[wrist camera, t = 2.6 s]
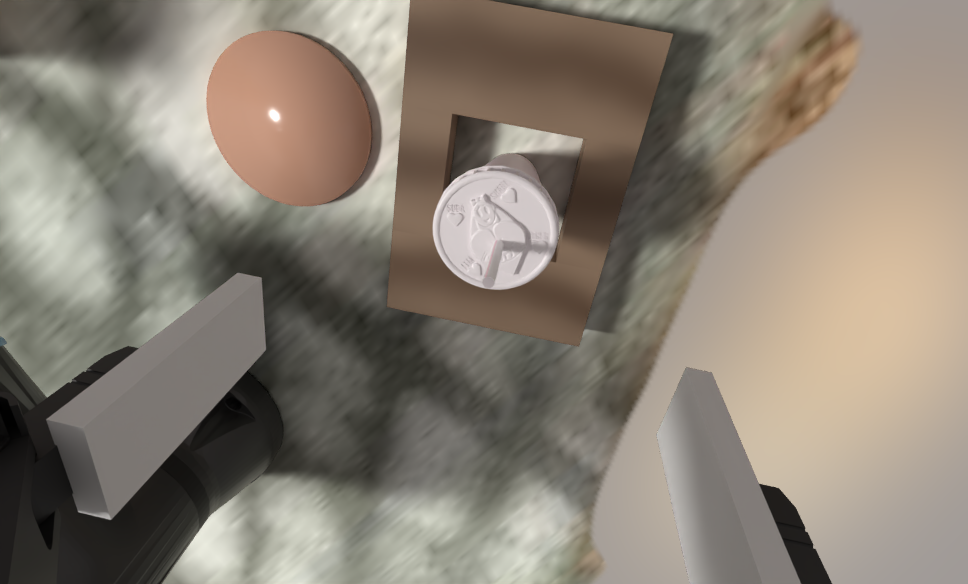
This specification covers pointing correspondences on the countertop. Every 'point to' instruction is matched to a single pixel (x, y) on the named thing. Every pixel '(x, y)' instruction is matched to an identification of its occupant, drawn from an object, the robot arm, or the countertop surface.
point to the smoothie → (497, 224)
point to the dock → (526, 103)
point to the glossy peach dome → (289, 118)
